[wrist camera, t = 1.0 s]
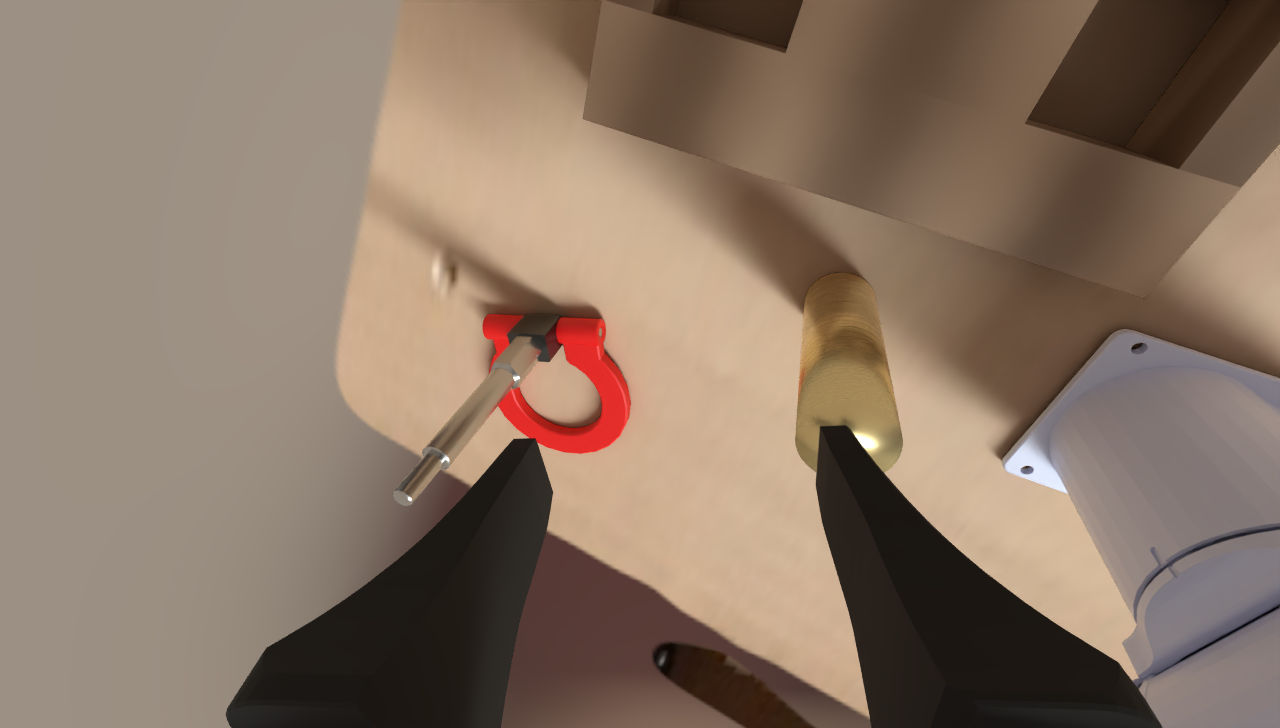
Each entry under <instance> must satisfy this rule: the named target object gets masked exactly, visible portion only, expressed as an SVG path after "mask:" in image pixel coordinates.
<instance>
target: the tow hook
mask: <svg viewBox="0 0 1280 728" xmlns="http://www.w3.org/2000/svg"><path fill="white" fill-rule="evenodd" d="M483 333H484V336H485V337H486V338H487V339H492V340H493V342H494V345H495V349H496V354H495V355H494V357H493V358H492V362H491V366H490V370H489V375H488V376H487V378H486V379H485V380H484V381H483V382H482V383H481V384H480V386H479V387H478V388H477V389H476V390H475V391H474V392H473V394H472V395H471V396H470V397H469V398H468V399H467V400H466V401H465V403H464V404H463V405H462V406H461V407H460V408H459V409H458V411H457V412H456V413H455V414H454V415H453V416H452V417H451V418H450V420H449V421H448V422H447V423H446V424H445V425H444V426H443V428H442V429H441V430H440V431H439V432H438V433H437V434H436V435H435V437H434V438H433V439H432V440H431V441H430V442H429V443H428V445H427V446H426V447H425V448H424V449H423V451H422V454H423V459H422V460H421V461H420V462H419V463H418V465H416V467H415V468H414V469H413V470H412V471H411V472H410V474H409V475H408V476H407V477H406V478H405V479H404V480H403V482H402V483H401V484H400V485H399V486H398V488H397V489H396V490H395V491H394V492H393V497H394V499H395V500H396V501H397V502H398V503H399V504H401V505H404V506H410V505H412V503H413V502H414V501H415V500H416V498H417V497H418V496H419V495H420V494H421V492H422V491H423V490H424V489H425V487H426V486H427V485H428V484H429V482H430V481H431V480H432V479H433V477H434V476H435V475H436V474H437V473H438V471H439V470H444V469H447V468H449V466H450V465H451V464H452V463H453V461H454V460H455V459H456V458H457V456H458V455H459V454H460V452H461V451H462V450H463V449H464V447H465V446H466V445H467V444H468V442H469V441H470V440H471V439H472V437H473V436H474V435H475V434H476V432H477V431H478V430H479V429H480V427H481V426H482V425H483V424H484V422H485V421H486V420H487V419H488V417H489V416H490V415H491V414H492V412H493V411H494V410H495V409H496V407H497V406H499V408H500V409H501V411H502V412H503V414H504V416H505V417H506V418H507V419H508V420H509V421H510V422H511V423H512V424H513V425H514V426H515V427H516V428H517V429H518V430H519V431H521V432H522V433H523V434H525V435H526V436H527V437H529V438H536V441H537V442H538V443H540V444H542V445H544V446H546V447H548V448H551V449H555V450H558V451H562V452H567V453H579V454H582V453H589V452H596V451H598V450H601V449H603V448H605V447H607V446H609V445H611V444H612V443H613V442H614V441H615V440H616V439H617V438H618V437H619V436H620V435H621V433H622V431H623V429H624V427H625V425H626V423H627V421H628V418H629V414H630V406H631V401H630V395H629V390H628V386H627V384H626V382H625V380H624V378H623V376H622V374H621V372H620V370H619V369H618V368H617V366H616V365H615V364H614V363H613V362H612V360H611V359H610V358H609V357H608V356H607V355H606V354H605V352H604V346H603V343H604V340H605V334H606V328H605V323H604V321H603V319H589V318H567V317H563V316H561V315H543V314H526V315H524V316H522V315H500V314H488V315H487V316H486V317H485V318H484V321H483ZM562 345H563V346H564V351H565V355H566V360H567V361H568V362H569V363H570V364H571V365H573V366H575V367H577V368H578V369H579V370H581V371H582V372H583V373H584V374H586V375H587V376H588V378H589V379H590V380H591V381H592V382H593V383H594V385H595V387H596V389H597V390H598V392H599V394H600V398H601V402H602V412H601V416H600V418H599V419H598V420H597V421H596V422H594V423H592V424H590V425H588V426H586V427H580V428H568V427H563V426H559V425H555V424H553V423H551V422H549V421H547V420H545V419H543V418H542V417H541V416H539V415H538V414H537V413H535V412H534V411H533V410H532V409H531V408H530V406H529V405H528V404H527V403H526V401H525V400H524V398H523V396H522V395H521V392H520V389H519V385H520V384H521V383H522V381H523V380H524V379H525V378H526V376H527V375H528V374H529V373H530V371H531V370H532V368H533V367H534V366H535V365H536V364H537V362H538V361H541V362H550V361H551V359H552V358H553V357H554V355H555V354H556V353H557V351H558V350H559V349H560V347H561V346H562Z"/></svg>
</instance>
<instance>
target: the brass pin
mask: <svg viewBox="0 0 1280 728" xmlns="http://www.w3.org/2000/svg"><path fill="white" fill-rule="evenodd" d="M838 425H846V426H848V427H849V428H850V429H851V430H852V432H853V433H854V435H855V436H856V438H857V439H858V440H859V442H860V443H861V444H862V446H863V447H864V448H865V450H866V451H867V452H868V454H869V455H870V456H871V458H872V459H873V460H874V461H875V463H876V464H877V465H878V466H879V468H880V469H881V470H882V471H883V472H886V471H887V470H888V469H890V468H891V467H892V466H893V465H894V464H895V463H896V461H897V460H898V458H899V457H900V454H901V452H902V447H903V438H902V433H901V428H900V422H899V417H898V412H897V407H896V402H895V397H894V392H893V386H892V381H891V376H890V371H889V366H888V361H887V356H886V350H885V345H884V340H883V335H882V330H881V325H880V320H879V314H878V309H877V304H876V299H875V294H874V291H873V289H872V287H871V286H870V285H869V284H868V283H867V282H866V281H865V280H864V279H863V278H861V277H859V276H857V275H855V274H851V273H845V272H839V273H832V274H829V275H826V276H824V277H822V278H820V279H819V280H817V281H816V282H815V283H814V284H813V285H812V286H811V287H810V289H809V290H808V292H807V294H806V297H805V302H804V317H803V332H802V347H801V362H800V377H799V392H798V407H797V422H796V437H795V442H796V448H797V451H798V453H799V455H800V457H801V458H802V460H803V461H804V462H805V463H806V464H807V465H808V466H809V467H810V468H811V469H813V470H814V471H815V472H817V460H818V446H819V432H820V426H838Z"/></svg>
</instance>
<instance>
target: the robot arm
mask: <svg viewBox="0 0 1280 728" xmlns="http://www.w3.org/2000/svg"><path fill="white" fill-rule="evenodd" d="M1137 343H1143V344H1142V346H1141V347H1139V348H1138V349H1134V350H1132V349H1131V348H1132V346H1133V345H1135V344H1137ZM1002 465H1003V467H1004V469H1005V470H1006V471H1007V472H1009V473H1011V474H1014V475H1017V476H1020V477H1022V478H1025V479H1028V480H1031V481H1033V482H1036V483H1039V484H1042V485H1045V486H1047V487H1050V488H1053V489H1056V490H1058V491H1061V492H1064V493H1067V494H1069V496H1070V498H1071V500H1072V502H1073V504H1074V506H1075V508H1076V510H1077V512H1078V513H1079V515H1080V517H1081V519H1082V521H1083V523H1084V525H1085V527H1086V529H1087V531H1088V533H1089V534H1090V536H1091V538H1092V540H1093V542H1094V544H1095V546H1096V548H1097V550H1098V552H1099V553H1100V555H1101V557H1102V559H1103V561H1104V563H1105V565H1106V567H1107V569H1108V571H1109V573H1110V574H1111V576H1112V578H1113V580H1114V582H1115V584H1116V586H1117V588H1118V590H1119V592H1120V593H1121V595H1122V597H1123V599H1124V601H1125V603H1126V605H1127V607H1128V609H1129V611H1130V613H1131V614H1132V616H1133V618H1134V620H1135V622H1136V624H1137V625H1136V628H1135V630H1134V632H1133V633H1132V635H1131V636H1130V637H1128V638H1127V639H1126V640H1124V641H1123V642H1122V644H1123V646H1124V648H1125V650H1126V652H1127V654H1128V656H1129V658H1130V660H1131V662H1132V665H1133V667H1134V669H1135V671H1136V673H1137V675H1138V677H1139V678H1138V679H1135V680H1133V681H1132V680H1131V679H1130V677H1129V676H1128V675H1127V674H1126V672H1125V671H1124V670H1123V668H1122V667H1121V665H1120V664H1119V663H1118V662H1117V661H1115V660H1113V659H1112V658H1110V657H1109V656H1107V655H1105V654H1104V653H1102V652H1101V651H1099V650H1097V649H1096V648H1094V647H1092V646H1091V645H1089V644H1088V643H1086V642H1084V641H1083V640H1081V639H1079V638H1078V637H1076V636H1075V635H1073V634H1071V633H1070V632H1068V631H1066V630H1065V629H1063V628H1062V627H1060V626H1059V625H1057V624H1056V623H1054V622H1053V621H1051V620H1050V619H1048V618H1047V617H1045V616H1044V615H1042V614H1041V613H1039V612H1038V611H1037V610H1035V609H1034V608H1032V607H1031V606H1029V605H1028V604H1026V603H1025V602H1024V601H1022V600H1021V599H1020V598H1018V597H1017V596H1016V595H1014V594H1013V593H1012V592H1010V591H1009V590H1008V589H1006V588H1005V587H1004V586H1003V585H1001V584H1000V583H999V582H997V581H996V580H995V579H993V578H992V577H991V576H989V575H988V574H987V573H985V572H984V571H983V570H982V569H981V568H979V567H978V566H977V565H976V564H975V563H973V562H972V561H971V560H970V559H969V558H968V557H966V556H965V555H964V554H963V553H962V552H961V551H959V550H958V549H957V548H956V547H955V546H954V545H953V544H952V543H950V542H949V541H948V540H947V539H946V538H945V537H944V536H943V535H942V534H941V533H940V532H939V531H938V530H937V529H935V528H934V527H933V526H932V525H931V524H930V523H929V522H928V521H927V520H926V519H925V518H924V517H923V516H922V514H921V513H920V512H919V511H918V510H917V509H916V508H915V507H914V506H913V505H912V504H911V503H910V502H909V501H908V500H907V499H906V498H905V497H904V495H903V494H902V493H901V492H900V491H899V490H898V489H897V487H896V486H895V485H894V484H893V483H892V482H891V481H890V479H889V478H888V477H887V476H886V475H885V474H884V472H883V471H882V470H881V469H880V468H879V466H878V465H877V464H876V463H875V461H874V460H873V459H872V458H871V456H870V455H869V454H868V452H867V451H866V450H865V448H864V447H863V446H862V444H861V443H860V442H859V440H858V439H857V438H856V436H855V435H854V433H853V432H852V430H851V429H850V428H849V427H848V426H846V425H838V426H820V432H819V446H818V460H817V475H816V489H817V495H818V501H819V507H820V512H821V518H822V523H823V527H824V530H825V534H826V537H827V541H828V544H829V547H830V551H831V554H832V557H833V561H834V564H835V567H836V571H837V574H838V577H839V581H840V584H841V587H842V591H843V594H844V597H845V601H846V604H847V607H848V611H849V615H850V619H851V623H852V627H853V631H854V636H855V642H856V647H857V652H858V657H859V662H860V667H861V672H862V677H863V683H864V688H865V693H866V699H867V704H868V710H869V715H870V721H871V727H872V728H1280V378H1278V377H1275V376H1272V375H1269V374H1265V373H1262V372H1259V371H1256V370H1253V369H1250V368H1247V367H1244V366H1241V365H1238V364H1235V363H1232V362H1229V361H1226V360H1223V359H1220V358H1216V357H1213V356H1210V355H1207V354H1204V353H1201V352H1198V351H1195V350H1192V349H1189V348H1186V347H1183V346H1180V345H1177V344H1174V343H1171V342H1167V341H1164V340H1161V339H1158V338H1155V337H1152V336H1149V335H1146V334H1143V333H1140V332H1137V331H1134V330H1130V329H1122V330H1118V331H1116V332H1114V333H1112V334H1111V335H1110V336H1109V337H1108V338H1107V339H1106V340H1105V342H1104V343H1103V344H1102V345H1101V346H1100V347H1099V349H1098V350H1097V351H1096V352H1095V353H1094V354H1093V355H1092V357H1091V358H1090V359H1089V360H1088V361H1087V362H1086V363H1085V365H1084V366H1083V367H1082V368H1081V369H1080V370H1079V372H1078V373H1077V374H1076V375H1075V376H1074V377H1073V378H1072V380H1071V381H1070V382H1069V383H1068V384H1067V385H1066V386H1065V388H1064V389H1063V390H1062V391H1061V392H1060V393H1059V394H1058V396H1057V397H1056V398H1055V399H1054V400H1053V401H1052V403H1051V404H1050V405H1049V406H1048V407H1047V408H1046V409H1045V411H1044V412H1043V413H1042V414H1041V415H1040V416H1039V417H1038V419H1037V420H1036V421H1035V422H1034V423H1033V424H1032V426H1031V427H1030V428H1029V429H1028V430H1027V431H1026V432H1025V434H1024V435H1023V436H1022V437H1021V438H1020V439H1019V440H1018V442H1017V443H1016V444H1015V445H1014V446H1013V447H1012V448H1011V450H1010V451H1009V452H1008V453H1007V454H1006V455H1005V457H1004V458H1003V460H1002ZM1024 466H1030V467H1029V468H1027V469H1021V468H1022V467H1024ZM552 495H553V490H552V487H551V484H550V481H549V478H548V475H547V472H546V469H545V466H544V462H543V459H542V456H541V453H540V450H539V447H538V444H537V441H536V438H527V439H513V440H512V442H511V443H510V444H509V445H508V446H507V447H506V448H505V449H504V451H503V452H502V453H501V454H500V455H499V456H498V458H497V459H496V460H495V461H494V462H493V463H492V465H491V466H490V467H489V468H488V469H487V470H486V472H485V473H484V474H483V475H482V476H481V477H480V479H479V480H478V481H477V482H476V483H475V484H474V485H473V486H472V488H471V489H470V490H469V491H468V492H467V493H466V494H465V495H464V497H463V498H462V499H461V500H460V501H459V502H458V503H457V504H456V505H455V506H454V507H453V508H452V509H451V510H450V511H449V512H448V513H447V514H446V515H445V517H444V518H443V519H442V520H441V521H440V522H439V523H438V524H437V525H436V526H435V527H434V528H433V529H432V530H431V531H429V532H428V534H426V535H425V536H424V537H423V538H422V539H421V540H420V541H419V542H418V543H416V544H415V545H414V546H413V547H412V548H411V549H410V550H409V551H407V552H406V553H405V554H404V555H403V556H401V557H400V558H399V559H398V560H397V561H395V562H394V563H393V564H392V565H390V566H389V567H388V568H386V569H385V570H384V571H383V572H381V573H380V574H379V575H378V576H376V577H375V578H374V579H372V580H371V581H370V582H368V583H367V584H366V585H365V586H363V587H362V588H360V589H359V590H358V591H356V592H355V593H353V594H352V595H351V596H349V597H348V598H346V599H345V600H343V601H342V602H340V603H339V604H338V605H336V606H334V607H333V608H332V609H330V610H329V611H327V612H326V613H324V614H322V615H321V616H319V617H318V618H316V619H315V620H313V621H311V622H310V623H308V624H306V625H305V626H303V627H301V628H300V629H298V630H296V631H294V632H293V633H291V634H290V635H288V636H286V637H285V638H283V639H281V640H279V641H278V642H276V643H274V644H272V645H271V646H269V647H267V648H266V650H265V651H264V653H263V654H262V656H261V657H260V659H259V660H258V662H257V663H256V665H255V666H254V668H253V669H252V671H251V673H250V674H249V676H248V677H247V679H246V680H245V682H244V683H243V685H242V686H241V688H240V689H239V691H238V693H237V694H236V696H235V697H234V699H233V700H232V702H231V703H230V705H229V707H228V708H227V712H226V717H227V720H228V722H229V725H230V727H231V728H501V722H502V716H503V708H504V702H505V696H506V691H507V685H508V679H509V673H510V667H511V661H512V657H513V652H514V646H515V642H516V637H517V632H518V627H519V622H520V618H521V615H522V611H523V607H524V603H525V600H526V597H527V593H528V590H529V587H530V584H531V580H532V577H533V574H534V571H535V567H536V564H537V561H538V557H539V554H540V551H541V547H542V544H543V541H544V537H545V533H546V530H547V526H548V520H549V515H550V509H551V502H552Z"/></svg>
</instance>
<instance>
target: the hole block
mask: <svg viewBox="0 0 1280 728" xmlns="http://www.w3.org/2000/svg"><path fill="white" fill-rule="evenodd" d="M1097 2H1098V0H803V3H802V6H801V9H800V12H799V15H798V18H797V21H796V24H795V26H794V29H793V32H792V35H791V38H790V41H789V44H788V47H787V48H784V47H780V46H777V45H773V44H770V43H767V42H763V41H760V40H756V39H753V38H750V37H746V36H743V35H739V34H736V33H732V32H729V31H726V30H722V29H719V28H715V27H712V26H709V25H705V24H702V23H698V22H695V21H692V20H688V19H685V18H681V17H678V16H676V13H677V8H678V4H679V0H602V2H601V8H600V14H599V21H598V27H597V33H596V39H595V46H594V52H593V58H592V64H591V70H590V77H589V83H588V89H587V95H586V102H585V108H584V114H583V119H584V120H587V121H590V122H593V123H596V124H600V125H603V126H606V127H609V128H612V129H615V130H618V131H621V132H625V133H628V134H631V135H634V136H637V137H640V138H643V139H646V140H650V141H653V142H656V143H659V144H662V145H665V146H668V147H671V148H674V149H678V150H681V151H684V152H687V153H690V154H693V155H696V156H699V157H703V158H706V159H709V160H712V161H715V162H718V163H721V164H724V165H728V166H731V167H734V168H737V169H740V170H743V171H746V172H749V173H753V174H756V175H759V176H762V177H765V178H768V179H771V180H774V181H778V182H781V183H784V184H787V185H790V186H793V187H796V188H799V189H803V190H806V191H809V192H812V193H815V194H818V195H821V196H824V197H828V198H831V199H834V200H837V201H840V202H843V203H846V204H849V205H853V206H856V207H859V208H862V209H865V210H868V211H871V212H874V213H878V214H881V215H884V216H887V217H890V218H893V219H896V220H899V221H902V222H906V223H909V224H912V225H915V226H918V227H921V228H924V229H927V230H931V231H934V232H937V233H940V234H943V235H946V236H949V237H952V238H956V239H959V240H962V241H965V242H968V243H971V244H974V245H977V246H981V247H984V248H987V249H990V250H993V251H996V252H999V253H1002V254H1006V255H1009V256H1012V257H1015V258H1018V259H1021V260H1024V261H1027V262H1031V263H1034V264H1037V265H1040V266H1043V267H1046V268H1049V269H1052V270H1056V271H1059V272H1062V273H1065V274H1068V275H1071V276H1074V277H1077V278H1081V279H1084V280H1087V281H1090V282H1093V283H1096V284H1099V285H1102V286H1106V287H1109V288H1112V289H1115V290H1118V291H1121V292H1124V293H1127V294H1131V295H1134V296H1137V297H1140V298H1143V299H1144V298H1145V297H1146V296H1147V295H1148V294H1149V293H1150V291H1151V290H1152V289H1153V288H1154V287H1155V286H1156V285H1157V283H1158V282H1159V281H1160V280H1161V279H1162V278H1163V277H1164V275H1165V274H1166V273H1167V272H1168V271H1169V270H1170V269H1171V267H1172V266H1173V265H1174V264H1175V263H1176V262H1177V261H1178V259H1179V258H1180V257H1181V256H1182V255H1183V254H1184V253H1185V251H1186V250H1187V249H1188V248H1189V247H1190V246H1191V245H1192V243H1193V242H1194V241H1195V240H1196V239H1197V238H1198V237H1199V235H1200V234H1201V233H1202V232H1203V231H1204V230H1205V228H1206V227H1207V226H1208V225H1209V224H1210V223H1211V222H1212V220H1213V219H1214V218H1215V217H1216V216H1217V215H1218V214H1219V212H1220V211H1221V210H1222V209H1223V208H1224V207H1225V206H1226V204H1227V203H1228V202H1229V201H1230V200H1231V199H1232V198H1233V196H1234V195H1235V194H1236V193H1237V192H1238V191H1239V190H1240V188H1241V187H1242V186H1243V185H1244V184H1245V183H1246V182H1247V180H1248V179H1249V178H1250V177H1251V176H1252V175H1253V174H1254V172H1255V171H1256V170H1257V169H1258V168H1259V167H1260V166H1261V164H1262V163H1263V162H1264V161H1265V160H1266V159H1267V157H1268V156H1269V155H1270V154H1271V153H1272V152H1273V151H1274V149H1275V148H1276V147H1277V146H1278V145H1279V144H1280V0H1230V2H1229V3H1228V5H1227V6H1226V7H1225V9H1224V10H1223V12H1222V13H1221V14H1220V16H1219V17H1218V19H1217V20H1216V21H1215V23H1214V24H1213V25H1212V27H1211V28H1210V30H1209V31H1208V32H1207V34H1206V35H1205V37H1204V38H1203V39H1202V41H1201V42H1200V44H1199V45H1198V46H1197V48H1196V49H1195V51H1194V52H1193V53H1192V55H1191V56H1190V57H1189V59H1188V60H1187V62H1186V63H1185V64H1184V66H1183V67H1182V69H1181V70H1180V71H1179V73H1178V74H1177V76H1176V77H1175V78H1174V80H1173V81H1172V83H1171V84H1170V85H1169V87H1168V88H1167V90H1166V91H1165V92H1164V94H1163V95H1162V96H1161V98H1160V99H1159V101H1158V102H1157V103H1156V105H1155V106H1154V108H1153V109H1152V110H1151V112H1150V113H1149V115H1148V116H1147V117H1146V119H1145V120H1144V122H1143V123H1142V124H1141V126H1140V127H1139V128H1138V130H1137V131H1136V133H1135V134H1134V135H1133V137H1132V138H1131V140H1130V141H1129V142H1128V144H1127V145H1126V147H1125V148H1124V147H1121V146H1117V145H1114V144H1111V143H1107V142H1104V141H1100V140H1097V139H1093V138H1090V137H1087V136H1083V135H1080V134H1076V133H1073V132H1070V131H1066V130H1063V129H1059V128H1056V127H1053V126H1049V125H1046V124H1042V123H1039V122H1036V121H1032V120H1029V119H1027V118H1028V117H1029V115H1030V113H1031V112H1032V110H1033V108H1034V107H1035V105H1036V104H1037V102H1038V100H1039V99H1040V97H1041V95H1042V94H1043V92H1044V90H1045V89H1046V87H1047V85H1048V84H1049V82H1050V80H1051V79H1052V77H1053V75H1054V74H1055V72H1056V70H1057V69H1058V67H1059V65H1060V64H1061V62H1062V60H1063V59H1064V57H1065V55H1066V54H1067V52H1068V50H1069V49H1070V47H1071V45H1072V44H1073V42H1074V40H1075V39H1076V37H1077V35H1078V34H1079V32H1080V30H1081V29H1082V27H1083V25H1084V24H1085V22H1086V20H1087V19H1088V17H1089V15H1090V14H1091V12H1092V10H1093V9H1094V7H1095V5H1096V4H1097Z"/></svg>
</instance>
